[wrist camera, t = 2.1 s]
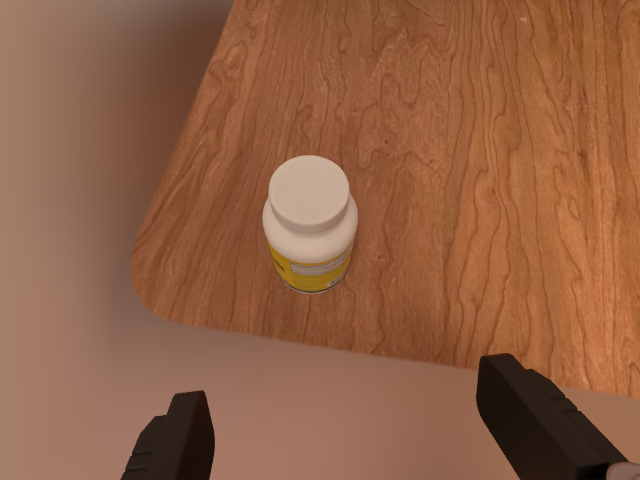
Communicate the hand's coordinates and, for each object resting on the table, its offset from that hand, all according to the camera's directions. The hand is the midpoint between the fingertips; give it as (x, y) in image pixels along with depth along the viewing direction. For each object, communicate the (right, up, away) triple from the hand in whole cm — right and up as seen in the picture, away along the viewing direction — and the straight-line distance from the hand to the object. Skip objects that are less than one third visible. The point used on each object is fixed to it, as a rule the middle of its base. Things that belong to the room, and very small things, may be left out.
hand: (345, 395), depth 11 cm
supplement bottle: (-1, +3, +16) cm, 17 cm away
